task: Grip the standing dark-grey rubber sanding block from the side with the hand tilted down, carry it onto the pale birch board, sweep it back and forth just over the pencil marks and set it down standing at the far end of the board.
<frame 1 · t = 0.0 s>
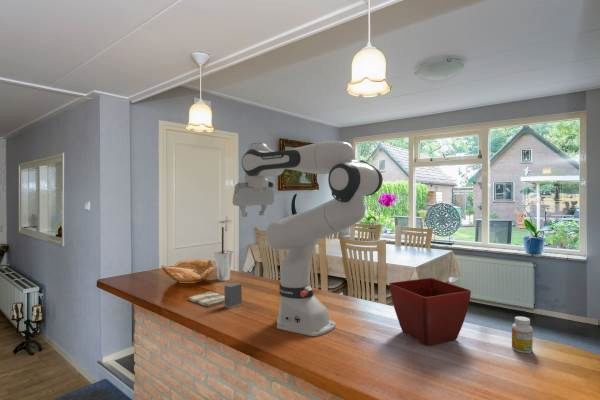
hand: (253, 216, 147), 39 cm above the table, tool pointing down, fingers open, 8 cm apart
toilet brush holder: (224, 280, 196), on the table
board: (209, 300, 160), on the table
supplement bottle: (521, 350, 109), on the table
plant pot: (428, 336, 120), on the table
sanding block: (233, 305, 152), on the table
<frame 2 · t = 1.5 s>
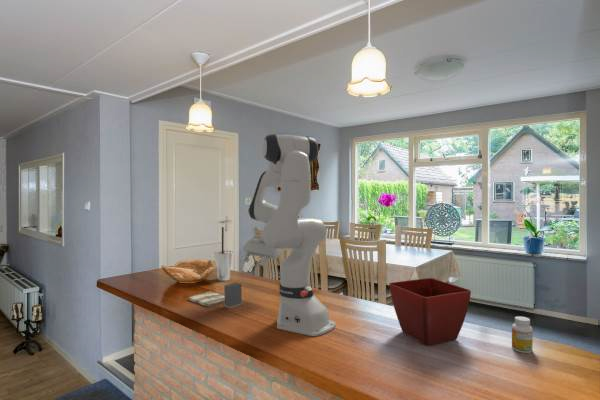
hand: (252, 263, 161), 16 cm above the table, tool tilted 45°, fingers open, 8 cm apart
nothing on the table moved.
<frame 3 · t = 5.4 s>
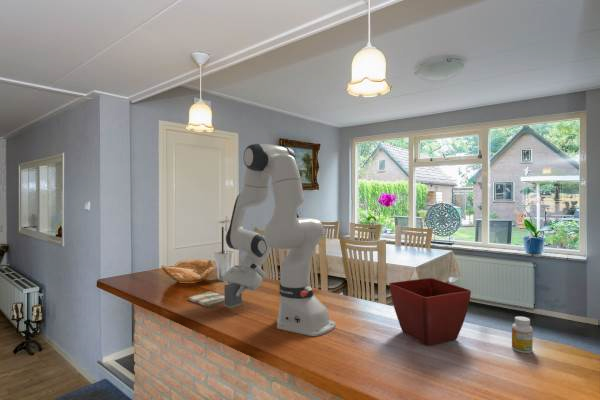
hand: (231, 294, 151), 5 cm above the table, tool tilted 45°, fingers closed on sanding block, 4 cm apart
sanding block: (233, 305, 152), on the table, touching gripper
everything else where it was.
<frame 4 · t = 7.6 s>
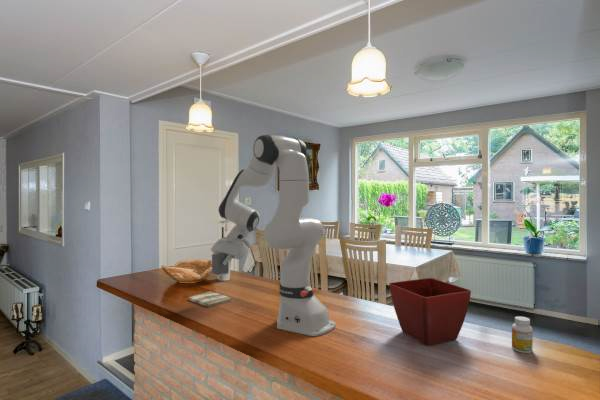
hand: (219, 263, 157), 17 cm above the table, tool tilted 45°, fingers closed on sanding block, 4 cm apart
sanding block: (220, 274, 158), point 12 cm above the table, touching gripper
everything else where it was.
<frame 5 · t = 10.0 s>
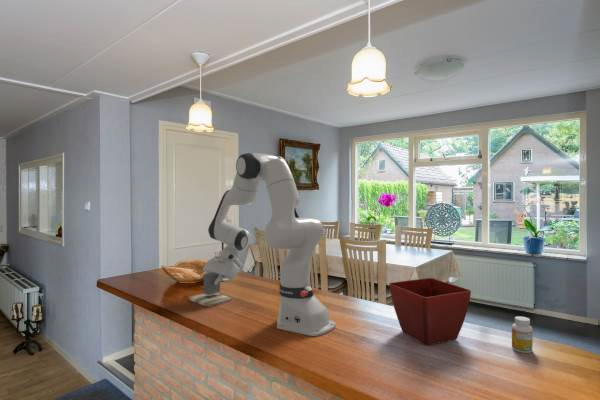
hand: (210, 283, 161), 7 cm above the table, tool tilted 45°, fingers closed on sanding block, 4 cm apart
sanding block: (211, 293, 162), point 2 cm above the table, touching gripper
everything else where it was.
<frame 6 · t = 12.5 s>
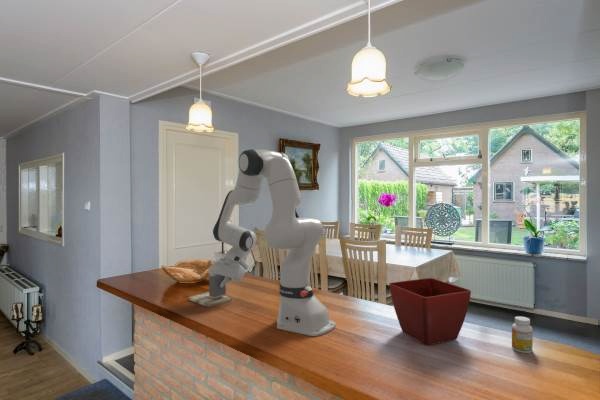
hand: (216, 285, 159), 7 cm above the table, tool tilted 45°, fingers closed on sanding block, 4 cm apart
sanding block: (217, 296, 159), point 2 cm above the table, touching gripper
everything else where it was.
when the fingers open (6 cm above the table, at t = 14.7 s): sanding block stays where it is, resting on board.
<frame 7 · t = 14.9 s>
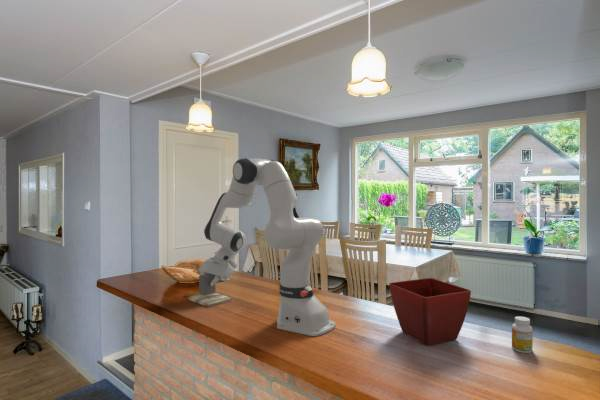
hand: (205, 283, 164), 6 cm above the table, tool tilted 45°, fingers open, 6 cm apart
sanding block: (207, 294, 164), point 1 cm above the table, touching board
everything else where it was.
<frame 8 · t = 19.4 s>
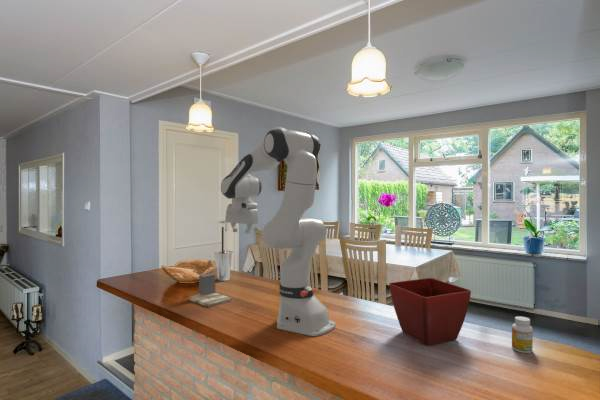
hand: (241, 232, 170), 29 cm above the table, tool pointing down, fingers open, 8 cm apart
nothing on the table moved.
at the end: sanding block inside the target area (0.1 cm from its centre), point 1.2 cm above the table; sanding block tilted 0°; the gripper is holding nothing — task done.
